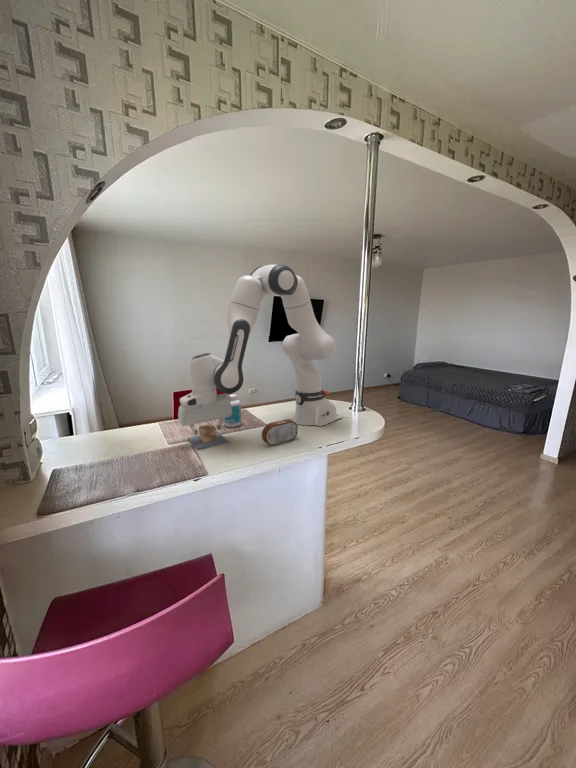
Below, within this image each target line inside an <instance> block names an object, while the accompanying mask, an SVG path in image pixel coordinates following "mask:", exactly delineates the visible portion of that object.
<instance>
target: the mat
mask: <svg viewBox="0 0 576 768" xmlns="http://www.w3.org/2000/svg"><path fill="white" fill-rule="evenodd" d="M216 436H217V440H214V441H210V442H206V443H204V442H203V441H202V440H200V436H199V435H196V436H192V437H188V438H187V441H188V442H189V443H190V444H191V445H192V444H193V445H192V446H193V447H194V448H195V449H197V451H200V450H204V449H207V448H212V447H216V446H219V445H224V444H228V443H230V441H229V440H228V439H227V438H226V437H225V436H223V435H222V434H221V433H219V432H218V431H216Z"/></svg>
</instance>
